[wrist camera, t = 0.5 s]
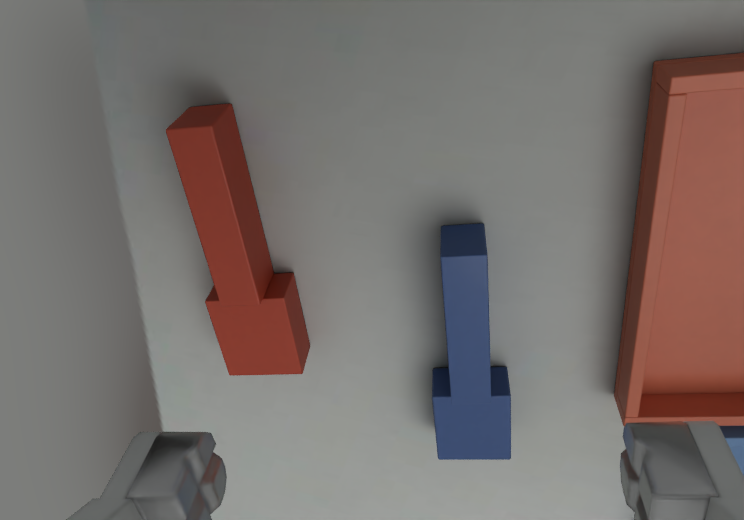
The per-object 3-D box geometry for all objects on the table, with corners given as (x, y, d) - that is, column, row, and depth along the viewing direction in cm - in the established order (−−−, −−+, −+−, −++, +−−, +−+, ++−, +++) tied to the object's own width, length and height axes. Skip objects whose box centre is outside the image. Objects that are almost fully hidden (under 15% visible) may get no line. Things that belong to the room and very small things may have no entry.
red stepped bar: (167, 108, 24) (140, 131, 22) (254, 100, 24) (235, 123, 22) (241, 348, 31) (226, 383, 29) (310, 346, 30) (300, 382, 28)
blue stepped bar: (419, 226, 26) (417, 258, 24) (505, 221, 25) (511, 253, 23) (438, 429, 32) (438, 468, 30) (507, 429, 32) (511, 468, 30)
